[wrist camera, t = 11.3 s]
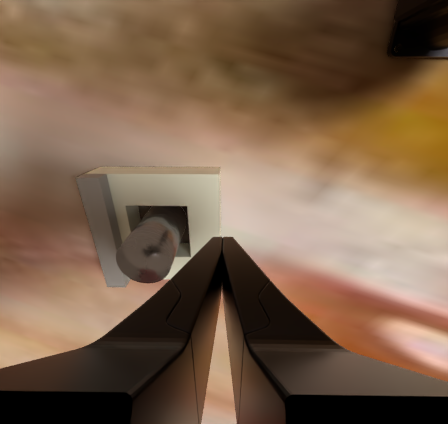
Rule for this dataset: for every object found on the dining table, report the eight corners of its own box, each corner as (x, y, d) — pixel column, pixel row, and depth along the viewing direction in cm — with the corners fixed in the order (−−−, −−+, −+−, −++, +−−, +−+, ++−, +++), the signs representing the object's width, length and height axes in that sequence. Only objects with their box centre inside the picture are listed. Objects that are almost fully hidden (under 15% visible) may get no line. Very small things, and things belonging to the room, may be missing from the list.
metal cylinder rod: (188, 236, 23) (173, 283, 17) (150, 235, 23) (121, 282, 17) (185, 201, 21) (168, 239, 15) (145, 200, 21) (110, 238, 15)
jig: (220, 167, 20) (218, 178, 16) (220, 264, 24) (219, 288, 21) (100, 166, 20) (75, 177, 17) (123, 263, 25) (107, 287, 21)
